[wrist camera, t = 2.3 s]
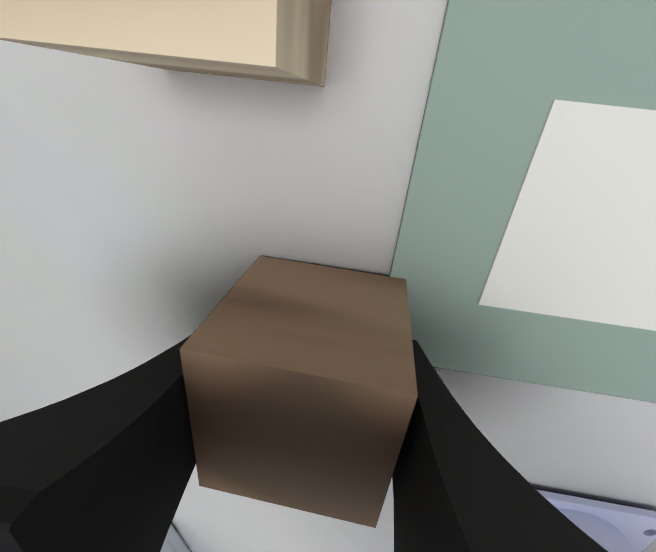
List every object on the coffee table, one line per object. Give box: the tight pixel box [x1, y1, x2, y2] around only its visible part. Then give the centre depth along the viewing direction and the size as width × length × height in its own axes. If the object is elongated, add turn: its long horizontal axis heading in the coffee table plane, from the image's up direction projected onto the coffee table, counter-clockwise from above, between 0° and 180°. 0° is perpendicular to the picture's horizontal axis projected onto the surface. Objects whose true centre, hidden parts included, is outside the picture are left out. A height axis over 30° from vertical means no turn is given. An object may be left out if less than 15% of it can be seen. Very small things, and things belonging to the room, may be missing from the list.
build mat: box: [390, 0, 656, 403], centre depth 9 cm, size 12×12×1 cm
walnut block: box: [180, 256, 418, 528], centre depth 10 cm, size 5×5×5 cm
